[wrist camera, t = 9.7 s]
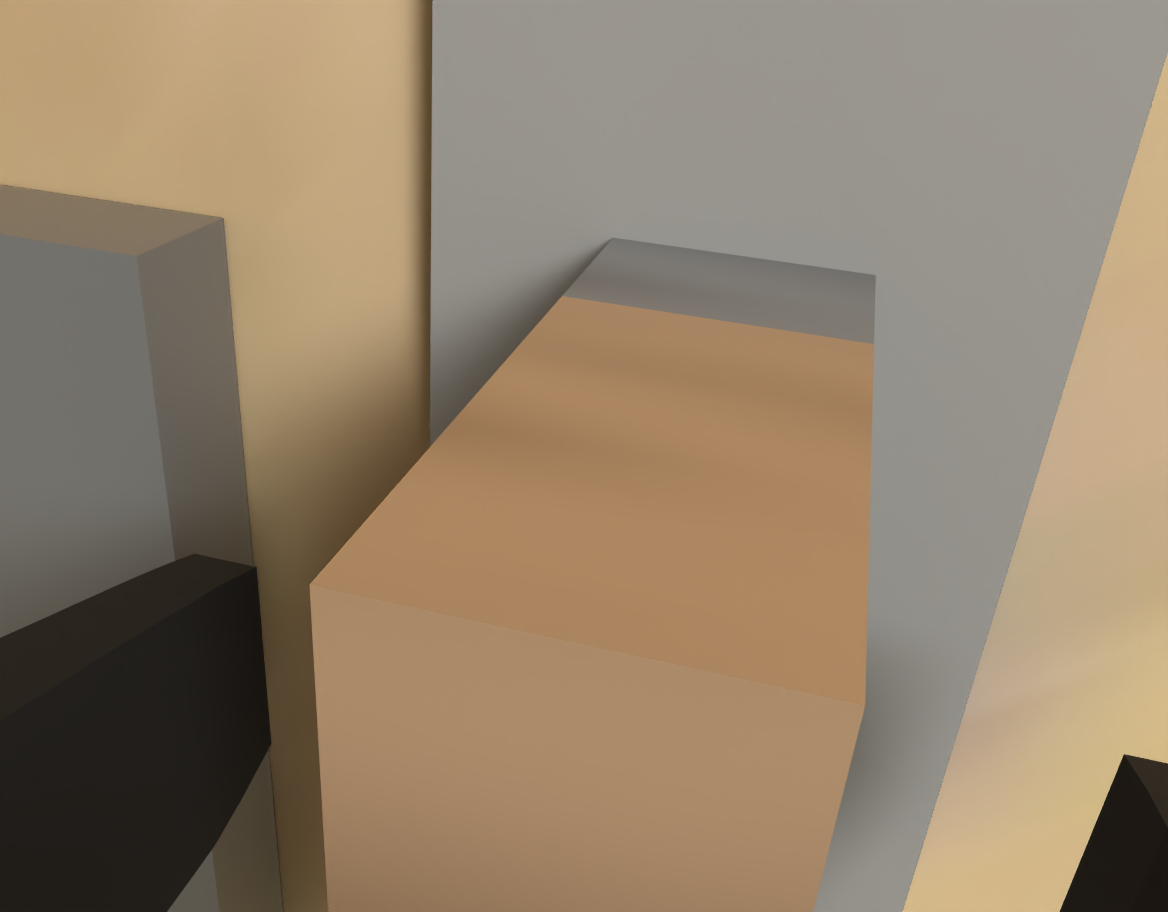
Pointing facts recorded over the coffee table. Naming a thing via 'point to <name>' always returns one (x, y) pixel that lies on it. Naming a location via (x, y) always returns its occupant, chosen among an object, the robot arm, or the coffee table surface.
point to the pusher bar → (614, 609)
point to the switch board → (124, 439)
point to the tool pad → (821, 265)
